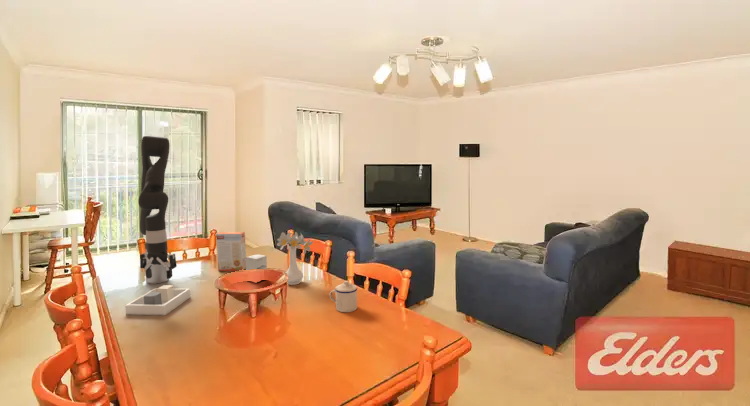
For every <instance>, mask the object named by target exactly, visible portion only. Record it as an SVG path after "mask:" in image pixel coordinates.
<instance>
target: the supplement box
mask: <svg viewBox="0 0 750 406" xmlns="http://www.w3.org/2000/svg"><path fill="white" fill-rule="evenodd" d="M267 258H268V257H267V255H263V254H253V255H249V256H246V269H245V270H250V269H267V270H268V262H267Z"/></svg>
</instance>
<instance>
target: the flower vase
mask: <svg viewBox="0 0 750 406" xmlns="http://www.w3.org/2000/svg"><path fill="white" fill-rule="evenodd" d="M310 240H311V239H310V238H308V239H307V241H306V240H305V237H304V235H303V234H302V233H300V235H299V233H298V232H297V231H295V232H294V234H292V232H288V233H287V234H286V233H285V232H283V231H282V232H281V233H280V236H279V238H277V239H276V241H277V243H276V246H278V247H280V249H279V250H283V249H284V247H285V246H287V247H288V251H289V266H288V269H287V270H286V271H285V273H287V275H288V278H289V280H288V283H287V284H288V285H291V286H295V285H299V284H300V283H301V281H302V280H303V278H304V274H303V272H302V271H301V270H300V269H299V267H298V263H297V249H302V246H303V254H304V255H306V253H307V251H308V252H311V247H310V246H312V245H313V243H314V241H312V240H311V241H310Z"/></svg>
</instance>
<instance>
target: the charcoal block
mask: <svg viewBox="0 0 750 406" xmlns="http://www.w3.org/2000/svg"><path fill="white" fill-rule="evenodd" d="M147 293H148V292H147ZM144 305H162V299H161V293H160V292H150V293H148V294H147V295H145V296H144Z"/></svg>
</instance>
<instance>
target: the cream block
mask: <svg viewBox="0 0 750 406" xmlns="http://www.w3.org/2000/svg"><path fill="white" fill-rule="evenodd" d="M156 288H157V287H156ZM173 288H174V285H173V284H172V285H168V284H167V285H166V284H163V285H161V286H159V287H158V288H157V292H160V293H161V299H162V302H168V301H170V300H171V299H173V298H174V291H173Z"/></svg>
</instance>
